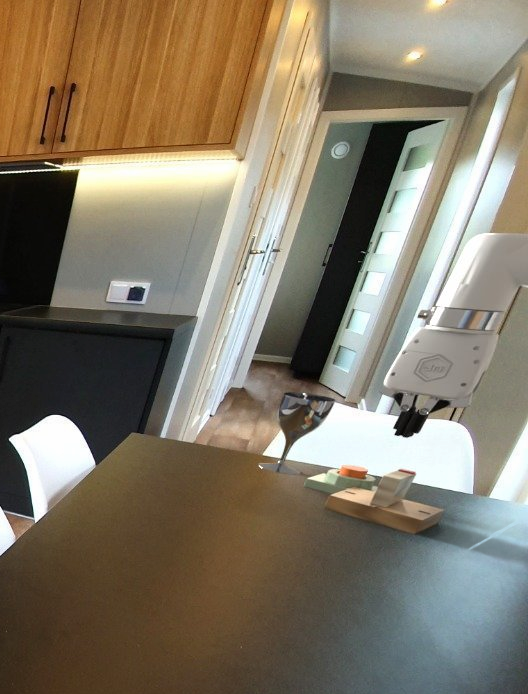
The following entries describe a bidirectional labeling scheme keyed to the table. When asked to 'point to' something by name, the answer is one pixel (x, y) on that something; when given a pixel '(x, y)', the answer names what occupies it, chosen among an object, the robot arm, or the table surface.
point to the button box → (339, 482)
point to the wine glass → (298, 422)
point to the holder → (393, 487)
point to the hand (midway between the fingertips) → (403, 435)
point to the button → (353, 471)
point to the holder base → (384, 510)
